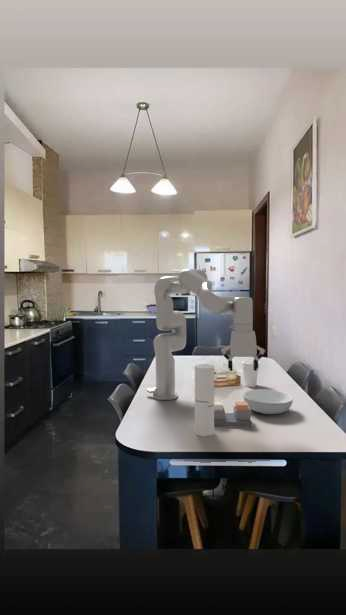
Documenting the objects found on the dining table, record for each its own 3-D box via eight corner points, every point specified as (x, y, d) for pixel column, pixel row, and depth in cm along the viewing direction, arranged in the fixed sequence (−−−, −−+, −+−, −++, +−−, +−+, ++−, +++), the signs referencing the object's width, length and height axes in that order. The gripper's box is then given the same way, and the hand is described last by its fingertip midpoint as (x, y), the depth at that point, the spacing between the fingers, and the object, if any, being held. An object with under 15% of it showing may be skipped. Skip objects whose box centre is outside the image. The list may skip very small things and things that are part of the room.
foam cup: (240, 386, 198) (240, 363, 198) (243, 382, 207) (243, 360, 206) (257, 388, 195) (257, 364, 194) (260, 384, 203) (260, 361, 203)
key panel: (210, 426, 141) (210, 412, 141) (208, 417, 151) (208, 404, 151) (251, 427, 140) (251, 413, 140) (247, 417, 150) (247, 404, 150)
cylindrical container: (193, 429, 139) (193, 364, 137) (212, 428, 139) (212, 363, 138) (196, 436, 132) (196, 368, 130) (215, 435, 132) (215, 368, 131)
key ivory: (211, 412, 143) (211, 404, 143) (211, 408, 148) (210, 401, 148) (222, 412, 143) (222, 405, 143) (221, 408, 148) (221, 401, 148)
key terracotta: (237, 412, 143) (237, 405, 143) (235, 408, 148) (235, 401, 147) (248, 412, 143) (248, 405, 143) (246, 408, 147) (246, 401, 147)
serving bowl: (285, 423, 145) (285, 406, 144) (236, 413, 156) (236, 397, 155) (297, 408, 162) (298, 393, 162) (252, 400, 173) (252, 386, 173)
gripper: (222, 329, 141) (222, 372, 142) (266, 328, 141) (266, 372, 141) (220, 327, 149) (220, 368, 149) (262, 326, 148) (262, 368, 149)
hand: (243, 370), depth 145 cm, fingers open, 9 cm apart
